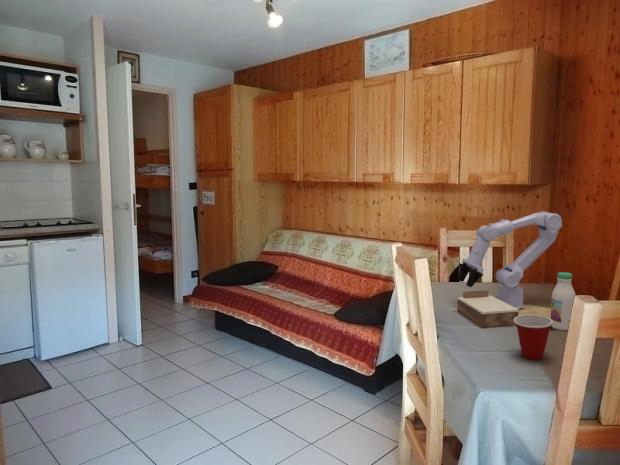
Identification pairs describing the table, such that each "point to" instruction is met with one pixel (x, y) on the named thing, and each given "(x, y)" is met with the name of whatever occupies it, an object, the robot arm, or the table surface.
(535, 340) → the plastic cup
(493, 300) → the lid
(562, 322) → the milk bottle
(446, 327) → the table surface
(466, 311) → the storage box
